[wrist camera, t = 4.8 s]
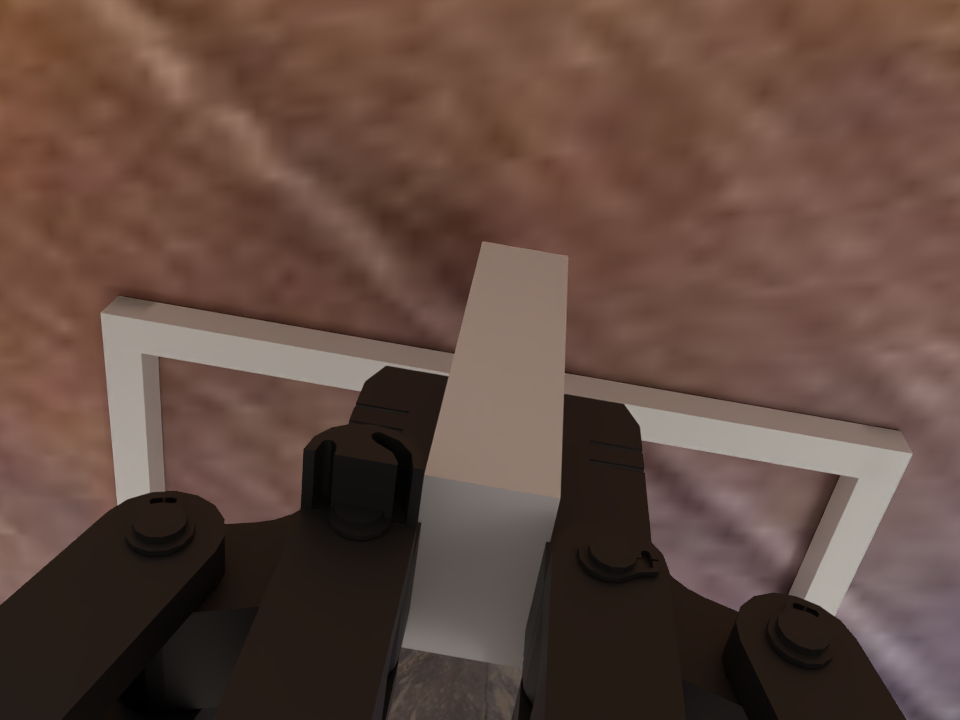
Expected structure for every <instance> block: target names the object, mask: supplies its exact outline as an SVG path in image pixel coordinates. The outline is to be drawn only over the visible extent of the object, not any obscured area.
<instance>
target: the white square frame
mask: <svg viewBox="0 0 960 720" xmlns="http://www.w3.org/2000/svg"><path fill="white" fill-rule="evenodd" d="M101 324H102V336H103V347H104V358H105V370H106V381H107V392H108V404H109V415H110V426H111V438H112V449H113V461H114V472H115V483H116V495H117V505H119V504H121V503H122V502H124V501H125V500H127V499H130V498H133V497H137V496H140V495H143V494H147V493H150V492H165V477H164V458H163V439H162V420H161V400H160V381H159V362H158V356H160V357H166V358H172V359H178V360H183V361H189V362H195V363H200V364H206V365H212V366H218V367H223V368H229V369H235V370H241V371H246V372H252V373H258V374H264V375H269V376H275V377H281V378H287V379H292V380H298V381H304V382H309V383H315V384H321V385H327V386H332V387H338V388H344V389H350V390H355V391H361V390H362V387H363V385H364V383H365V381H366V380H368V379H369V378H370V377H372V376H373V375H374V374H376V373H377V372H378V371H380V370H381V369H382V368H384V367H385V366H392V367H398V368H404V369H410V370H415V371H421V372H427V373H433V374H439V375H444V376H449V373H450V369H451V365H452V361H453V357H454V354H452V353H447V352H441V351H435V350H429V349H424V348H418V347H412V346H406V345H400V344H395V343H389V342H383V341H377V340H372V339H366V338H360V337H354V336H348V335H343V334H337V333H331V332H325V331H320V330H314V329H308V328H302V327H297V326H291V325H285V324H279V323H273V322H268V321H262V320H256V319H250V318H245V317H239V316H233V315H227V314H221V313H216V312H210V311H204V310H198V309H193V308H187V307H181V306H175V305H169V304H164V303H158V302H152V301H146V300H141V299H135V298H129V297H123V296H117V297H116V298H115V299H114V300H113V301H112V302H111V303H110V304H109V305H108V306H107V307H106V308H105V309H104V310H103V311H102V312H101ZM564 394H569V395H575V396H581V397H587V398H593V399H599V400H604V401H610V402H616V403H622V404H624V405H625V406H626V407H627V409H628V410H629V412H630V413H631V414H632V416H633V417H634V419H635V420H636V421H637V423H638V424H639V426H640V431H641V440H642V441H648V442H654V443H660V444H665V445H671V446H677V447H682V448H688V449H694V450H700V451H705V452H711V453H717V454H723V455H728V456H734V457H740V458H746V459H751V460H757V461H763V462H769V463H774V464H780V465H786V466H792V467H797V468H803V469H809V470H814V471H820V472H826V473H832V474H837V475H840V477H839V479H838V482H837V484H836V486H835V489H834V491H833V493H832V496H831V498H830V500H829V502H828V505H827V507H826V509H825V512H824V514H823V516H822V518H821V521H820V523H819V525H818V528H817V530H816V532H815V534H814V537H813V539H812V541H811V544H810V546H809V548H808V551H807V553H806V555H805V557H804V560H803V562H802V564H801V567H800V569H799V571H798V573H797V576H796V578H795V580H794V583H793V585H792V587H791V589H790V592H789V594H788V595H792V596H797V597H799V598H802V599H804V600H807V601H809V602H812V603H814V604H816V605H819V606H821V607H822V608H823V609H825V610H826V611H828V612H829V613H830V614H832V615H833V616H835V615H836V613H837V610H838V608H839V606H840V604H841V602H842V600H843V598H844V596H845V594H846V592H847V590H848V588H849V586H850V583H851V581H852V579H853V577H854V575H855V573H856V571H857V569H858V567H859V565H860V563H861V561H862V559H863V556H864V554H865V552H866V550H867V548H868V546H869V544H870V542H871V540H872V538H873V536H874V534H875V532H876V529H877V527H878V525H879V523H880V521H881V519H882V517H883V515H884V513H885V511H886V509H887V507H888V505H889V502H890V500H891V498H892V496H893V494H894V492H895V490H896V488H897V486H898V484H899V482H900V480H901V478H902V475H903V473H904V471H905V469H906V467H907V465H908V463H909V461H910V459H911V457H912V455H913V453H912V451H911V449H910V447H909V446H908V444H907V442H906V440H905V438H904V436H903V434H902V433H901V431H897V430H891V429H885V428H880V427H874V426H868V425H862V424H857V423H851V422H845V421H839V420H834V419H828V418H822V417H816V416H810V415H805V414H799V413H793V412H787V411H782V410H776V409H770V408H764V407H758V406H753V405H747V404H741V403H735V402H730V401H724V400H718V399H712V398H706V397H701V396H695V395H689V394H683V393H678V392H672V391H666V390H660V389H655V388H649V387H643V386H637V385H631V384H626V383H620V382H614V381H608V380H603V379H597V378H591V377H585V376H579V375H574V374H568V373H565V376H564Z"/></svg>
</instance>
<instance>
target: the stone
mask: <svg viewBox="0 0 960 720" xmlns="http://www.w3.org/2000/svg"><path fill="white" fill-rule="evenodd" d="M523 656H524V653H523ZM522 670H523V657H522V662H521V666H520V668H516V667H510V666H505V665H499V664H493V663H488V662H482V661H476V660H471V659H465V658H459V657H454V656H448V655H442V654H437V653H431V652H425V651H420V650H414V649H408V648H403V647H401V651H400V656H399V663H398V670H397V678H396V685H395V689H394V694H393V699H392V703H391V708H390V712H389V717H388V720H511V719H512V715H513V711H514V707H515V703H516V698H517V694H518V690H519V686H520V682H521V678H522Z"/></svg>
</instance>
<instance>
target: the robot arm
mask: <svg viewBox="0 0 960 720" xmlns="http://www.w3.org/2000/svg"><path fill="white" fill-rule="evenodd" d="M567 286H568V256H566V255H561V254H555V253H549V252H543V251H537V250H531V249H525V248H519V247H513V246H507V245H501V244H496V243H490V242H484V241H482V245H481V249H480V253H479V257H478V261H477V265H476V269H475V273H474V277H473V281H472V285H471V289H470V293H469V297H468V301H467V305H466V309H465V313H464V317H463V321H462V325H461V329H460V333H459V337H458V341H457V345H456V349H455V353H454V357H453V361H452V365H451V369H450V373H449V376H444V375H439V374H433V373H427V372H421V371H415V370H410V369H404V368H398V367H392V366H385V367H384V368H382V369H381V370H380V371H378V372H377V373H376V374H374V375H373V376H372V377H370V378H369V379H368V380H366V381H365V383H364V385H363V387H362V390H361V392H360V395H359V397H358V400H357V402H356V407H354V410H353V412H352V415H351V417H350V420H349V424H348V425H343V426H338V427H332V428H330V429H328V430H326V431H324V432H322V433H320V434H318V435H316V436H314V437H313V439H312V440H311V441H310V442H309V443H308V445H307V446H306V447H305V448H304V453H303V474H302V495H301V509H300V510H299V511H297V512H295V513H293V514H292V515H288V516H285V517H282V518H279V519H276V520H270V521H263V522H255V523H239V524H224V518H223V517H222V515H221V514H220V512H219V511H218V509H217V508H216V506H215V505H213V504H212V503H210V502H208V501H206V500H205V499H203V498H201V497H199V496H198V495H193V494H188V493H183V492H178V491H166V492H150V493H147V494H143V495H140V496H137V497H133V498H130V499H127V500H125V501H124V502H122V503H121V504H119V505H117V506H116V507H114V508H113V509H111V510H109V511H108V512H107V513H106V514H104V515H103V516H102V517H101V518H100V519H99V520H98V521H96V522H95V523H94V524H93V525H92V526H91V527H90V528H88V529H87V530H86V531H85V532H84V533H83V534H82V535H80V536H79V537H78V538H77V539H76V540H75V541H73V542H72V543H71V544H70V545H69V546H68V547H67V548H65V549H64V550H63V551H62V552H61V553H60V554H59V555H57V556H56V557H55V558H54V559H53V560H52V561H51V562H49V563H48V564H47V565H46V566H45V567H44V568H43V569H41V570H40V571H39V572H38V573H37V574H36V575H35V576H33V577H32V578H31V579H30V580H29V581H28V582H26V583H25V584H24V585H23V586H22V587H21V588H20V589H18V590H17V591H16V592H15V593H14V594H13V595H12V596H10V597H9V598H8V599H7V600H6V601H5V602H4V603H2V604H1V605H0V720H388V717H389V712H390V708H391V703H392V699H393V694H394V689H395V685H396V678H397V670H398V663H399V656H400V651H401V647H403V648H408V649H414V650H420V651H425V652H431V653H437V654H442V655H448V656H454V657H459V658H465V659H471V660H476V661H482V662H488V663H493V664H499V665H505V666H510V667H516V668H520V666H521V662H522V657H523V670H522V678H521V682H520V686H519V690H518V694H517V698H516V703H515V707H514V711H513V715H512V719H511V720H906V718H905V717H904V715H903V714H902V712H901V710H900V709H899V707H898V705H897V704H896V702H895V701H894V699H893V697H892V696H891V694H890V693H889V691H888V689H887V688H886V686H885V685H884V683H883V681H882V680H881V678H880V676H879V675H878V673H877V672H876V670H875V668H874V667H873V665H872V664H871V662H870V660H869V659H868V657H867V656H866V654H865V652H864V651H863V649H862V647H861V646H860V644H859V643H858V641H857V639H856V638H855V637H854V636H853V635H852V633H851V632H850V631H849V630H848V629H847V628H846V626H845V625H844V624H843V623H842V622H841V621H840V620H839V619H837V618H836V617H835V616H833V615H832V614H830V613H829V612H828V611H826V610H825V609H823V608H822V607H821V606H819V605H816V604H814V603H812V602H809V601H807V600H804V599H802V598H799V597H797V596H792V595H785V594H778V593H769V594H764V595H758V596H754V597H752V598H751V599H750V600H748V601H747V602H746V603H744V604H743V605H742V606H741V607H740V609H739V612H737V611H735V610H733V609H730V608H728V607H725V606H723V605H721V604H718V603H716V602H714V601H711V600H709V599H707V598H704V597H702V596H701V595H699V594H697V593H695V592H693V591H691V590H689V589H687V588H686V587H685V586H683V585H682V584H681V583H679V582H678V581H677V580H675V579H674V578H673V577H672V576H671V575H670V574H669V570H668V567H667V564H666V562H665V559H664V556H663V554H662V553H661V552H660V551H659V550H658V549H657V548H656V547H655V546H654V545H653V544H652V542H651V533H650V523H649V512H648V502H647V492H646V482H645V473H643V472H644V462H643V454H642V441H641V431H640V426H639V424H638V423H637V421H636V420H635V419H634V417H633V416H632V414H631V413H630V412H629V410H628V409H627V407H626V406H625V405H624V404H622V403H616V402H610V401H604V400H599V399H593V398H587V397H581V396H575V395H569V394H564V376H565V346H566V316H567ZM523 653H524V656H523Z"/></svg>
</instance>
